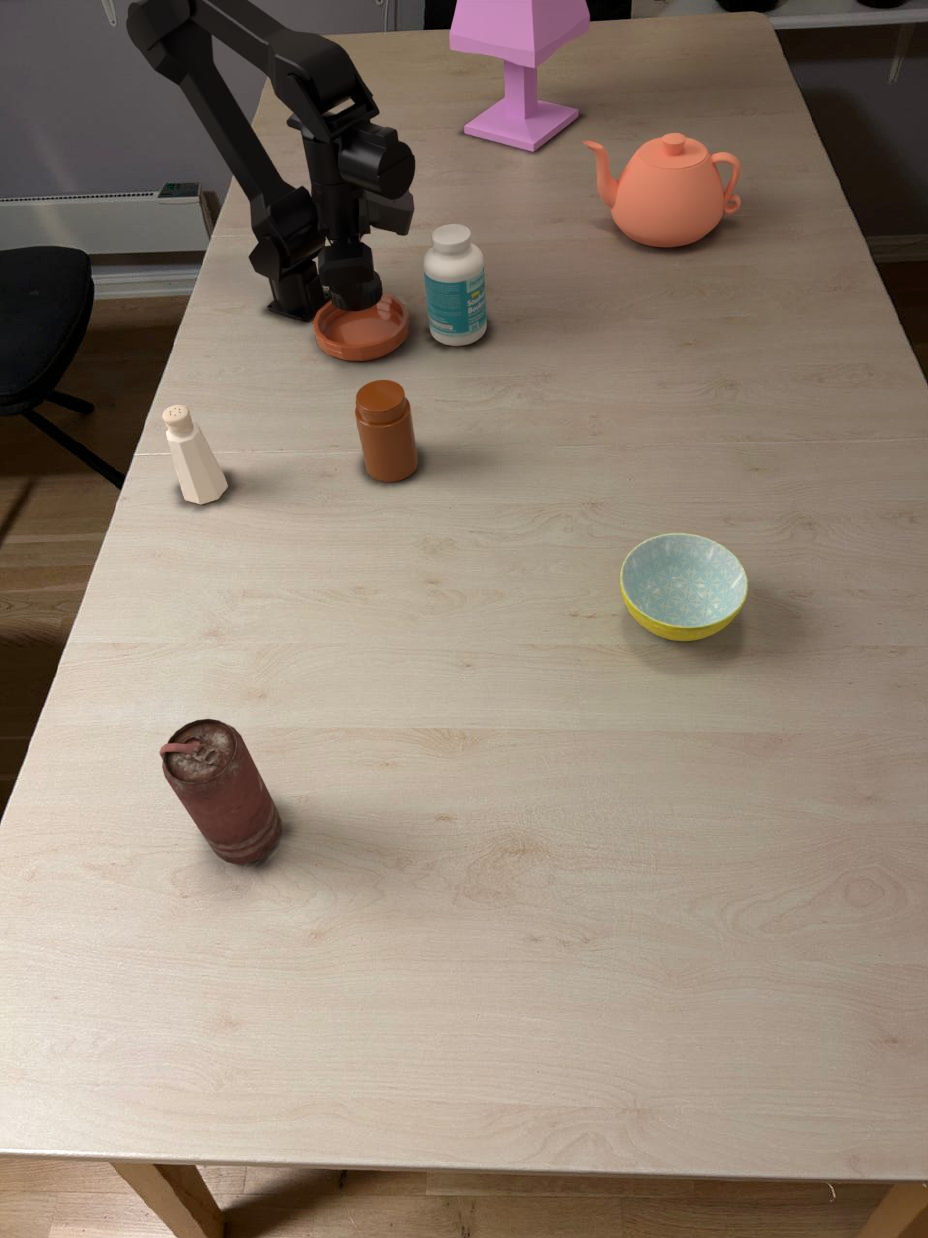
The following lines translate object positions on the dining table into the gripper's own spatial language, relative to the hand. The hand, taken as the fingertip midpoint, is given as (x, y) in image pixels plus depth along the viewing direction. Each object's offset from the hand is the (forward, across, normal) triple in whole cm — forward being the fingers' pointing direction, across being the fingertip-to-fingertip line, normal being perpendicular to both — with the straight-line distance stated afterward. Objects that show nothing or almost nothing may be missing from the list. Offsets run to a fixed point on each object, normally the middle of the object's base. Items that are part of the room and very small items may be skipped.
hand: (356, 295), depth 117 cm
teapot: (+6, +18, -43) cm, 47 cm away
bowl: (+6, -52, -29) cm, 60 cm away
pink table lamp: (+6, +54, -28) cm, 61 cm away
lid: (-2, 0, 0) cm, 2 cm away
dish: (+6, 0, 0) cm, 6 cm away
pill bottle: (+6, -2, -12) cm, 14 cm away
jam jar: (+6, -25, -3) cm, 26 cm away
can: (+6, -69, +12) cm, 70 cm away
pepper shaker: (+6, -26, +19) cm, 33 cm away
